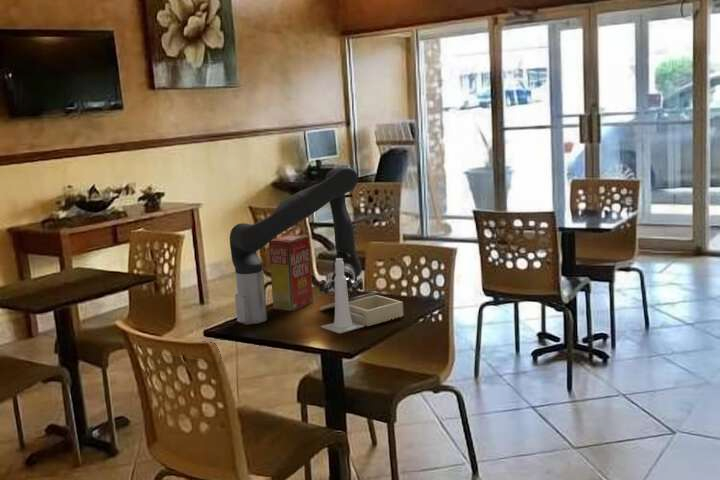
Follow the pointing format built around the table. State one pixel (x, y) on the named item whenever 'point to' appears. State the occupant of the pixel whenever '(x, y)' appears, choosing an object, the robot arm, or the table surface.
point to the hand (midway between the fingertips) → (339, 290)
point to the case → (374, 309)
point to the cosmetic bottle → (341, 297)
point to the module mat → (341, 330)
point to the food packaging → (290, 272)
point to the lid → (334, 303)
